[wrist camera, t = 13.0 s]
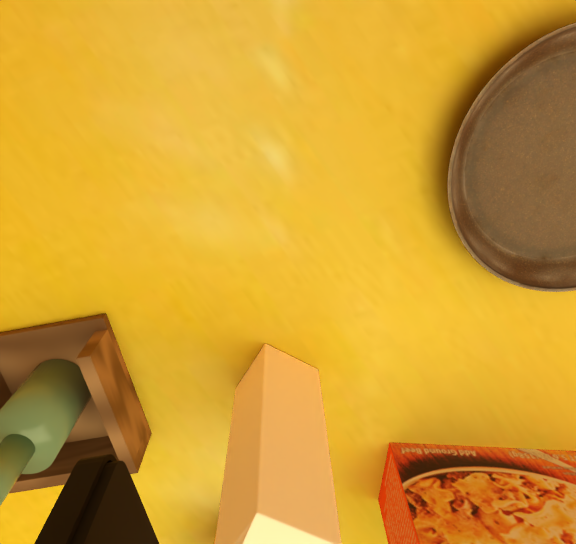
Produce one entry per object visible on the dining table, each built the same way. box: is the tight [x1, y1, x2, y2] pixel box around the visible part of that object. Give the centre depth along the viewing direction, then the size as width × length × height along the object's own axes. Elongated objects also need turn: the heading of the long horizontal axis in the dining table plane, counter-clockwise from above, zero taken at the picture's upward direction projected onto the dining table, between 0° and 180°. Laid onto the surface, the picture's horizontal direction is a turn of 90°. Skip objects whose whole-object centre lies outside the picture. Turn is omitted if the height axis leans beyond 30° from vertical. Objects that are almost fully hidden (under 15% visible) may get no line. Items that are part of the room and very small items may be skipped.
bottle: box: [0, 359, 92, 505], centre depth 39 cm, size 6×6×15 cm
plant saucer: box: [447, 23, 576, 292], centre depth 38 cm, size 21×21×3 cm
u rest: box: [0, 314, 151, 493], centre depth 44 cm, size 14×12×5 cm
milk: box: [215, 344, 341, 544], centre depth 37 cm, size 6×6×22 cm
